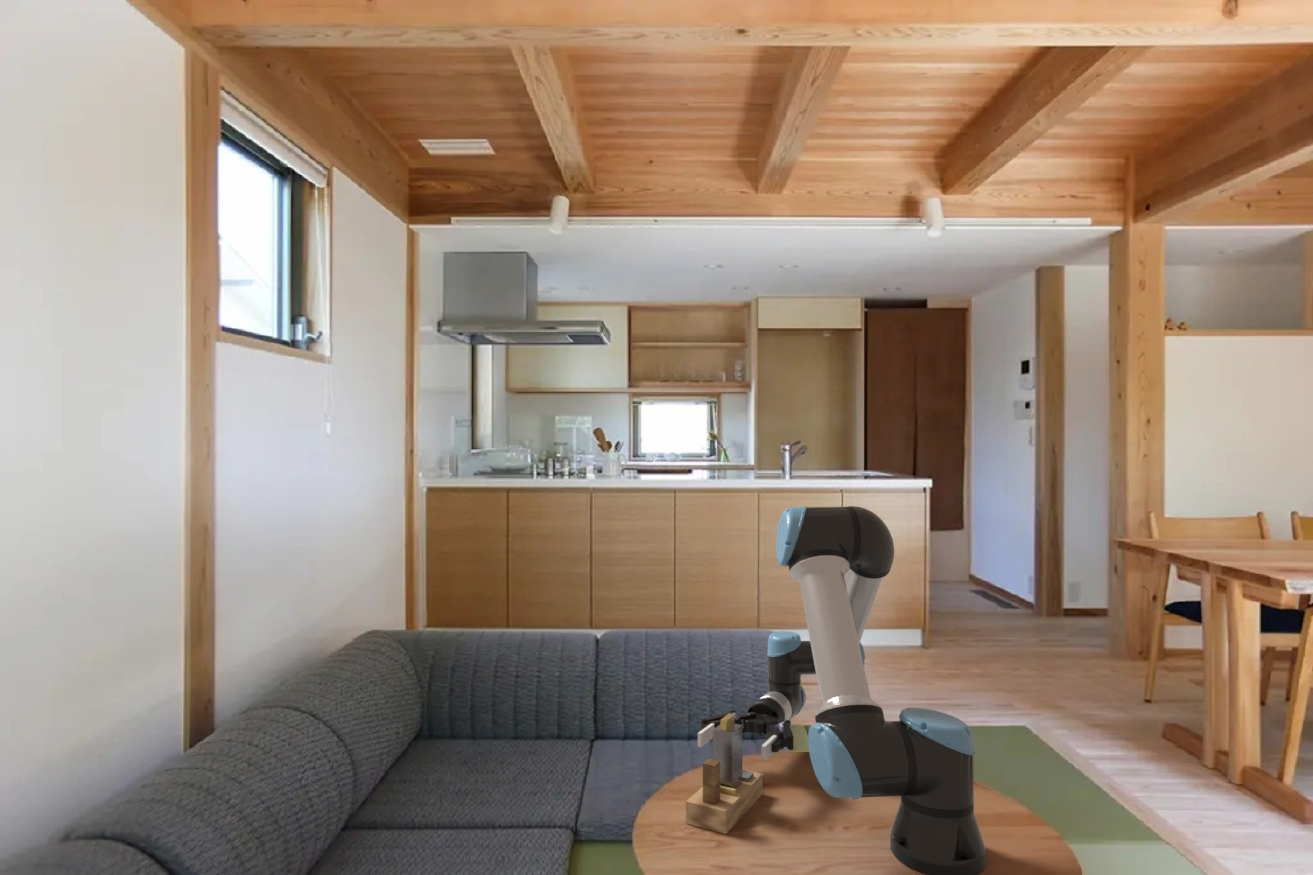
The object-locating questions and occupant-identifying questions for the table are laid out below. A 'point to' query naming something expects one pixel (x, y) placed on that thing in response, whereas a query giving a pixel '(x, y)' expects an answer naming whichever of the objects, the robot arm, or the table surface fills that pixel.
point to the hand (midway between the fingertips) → (730, 746)
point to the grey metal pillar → (728, 751)
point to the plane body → (721, 799)
